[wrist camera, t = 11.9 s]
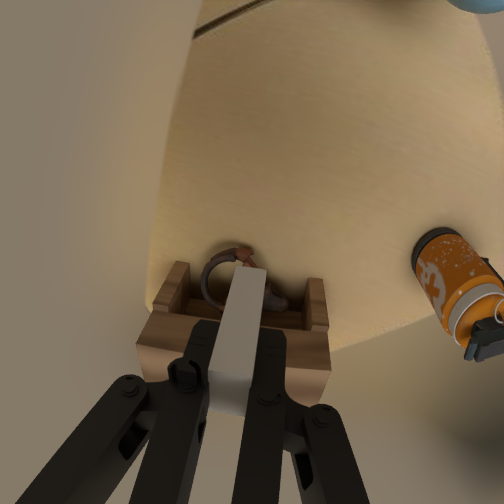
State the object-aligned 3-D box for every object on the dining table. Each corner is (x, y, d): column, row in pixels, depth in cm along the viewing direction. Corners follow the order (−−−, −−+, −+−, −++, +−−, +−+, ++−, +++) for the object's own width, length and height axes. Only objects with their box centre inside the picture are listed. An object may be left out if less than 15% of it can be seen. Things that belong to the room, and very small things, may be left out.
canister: (411, 230, 40) (476, 328, 23) (476, 221, 38) (555, 304, 21) (408, 284, 44) (455, 389, 27) (470, 273, 42) (529, 364, 25)
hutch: (176, 261, 46) (134, 337, 32) (322, 279, 45) (333, 364, 31) (179, 314, 51) (147, 391, 37) (309, 331, 50) (313, 415, 36)
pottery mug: (207, 300, 49) (186, 308, 41) (223, 240, 48) (204, 237, 40) (283, 324, 46) (275, 339, 38) (302, 262, 46) (298, 264, 38)
